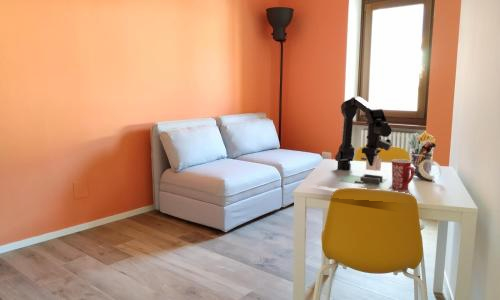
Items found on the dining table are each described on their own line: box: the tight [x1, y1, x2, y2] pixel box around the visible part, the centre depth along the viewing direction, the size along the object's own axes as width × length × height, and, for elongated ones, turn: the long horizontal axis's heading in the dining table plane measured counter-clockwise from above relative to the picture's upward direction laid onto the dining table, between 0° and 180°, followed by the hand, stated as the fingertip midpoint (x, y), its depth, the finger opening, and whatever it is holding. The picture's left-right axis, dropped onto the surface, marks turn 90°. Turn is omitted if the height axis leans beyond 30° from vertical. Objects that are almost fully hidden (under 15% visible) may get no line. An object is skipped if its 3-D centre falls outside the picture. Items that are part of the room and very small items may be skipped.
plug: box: [360, 154, 382, 172], centre depth 203 cm, size 10×4×7 cm, turn 59°
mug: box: [391, 158, 415, 191], centre depth 195 cm, size 13×9×14 cm
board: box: [337, 174, 388, 188], centre depth 206 cm, size 21×16×2 cm
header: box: [360, 173, 384, 184], centre depth 204 cm, size 9×8×2 cm
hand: (372, 165), depth 203 cm, fingers closed on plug, 3 cm apart
